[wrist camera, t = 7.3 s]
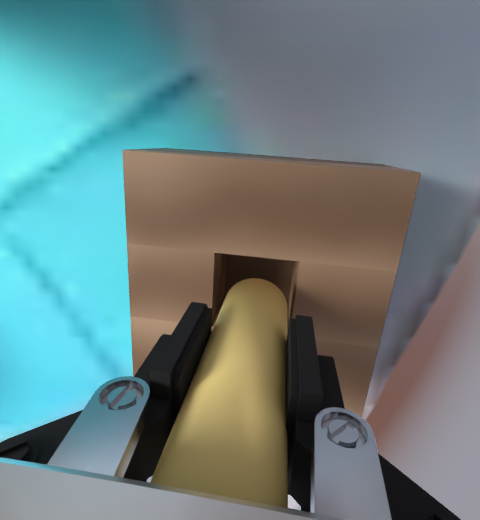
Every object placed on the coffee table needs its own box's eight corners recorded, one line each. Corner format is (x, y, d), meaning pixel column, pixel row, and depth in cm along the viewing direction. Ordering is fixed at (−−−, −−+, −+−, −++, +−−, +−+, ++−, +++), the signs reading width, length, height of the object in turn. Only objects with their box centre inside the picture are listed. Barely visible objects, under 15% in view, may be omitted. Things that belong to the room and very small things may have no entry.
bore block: (166, 148, 19) (122, 149, 14) (382, 164, 18) (420, 172, 13) (167, 330, 23) (133, 383, 18) (343, 353, 22) (361, 416, 17)
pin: (226, 274, 14) (115, 509, 5) (291, 282, 14) (299, 547, 5) (222, 330, 15) (122, 616, 6) (283, 339, 15) (275, 653, 6)
